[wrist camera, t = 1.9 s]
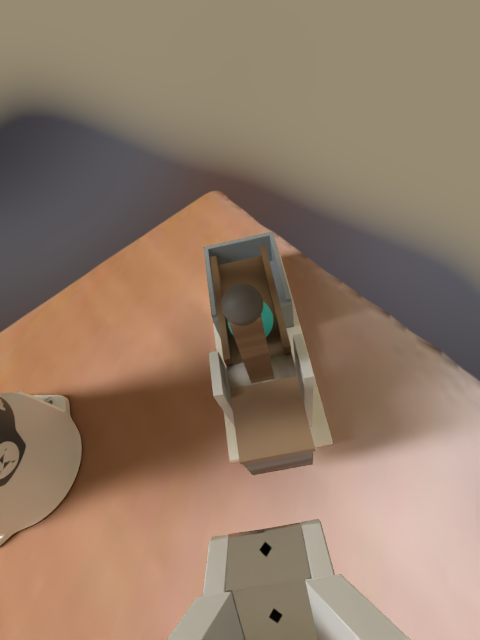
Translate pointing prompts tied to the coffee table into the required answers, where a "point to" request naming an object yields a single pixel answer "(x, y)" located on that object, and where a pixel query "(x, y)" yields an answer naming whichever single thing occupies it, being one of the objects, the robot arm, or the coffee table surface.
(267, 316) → the ball
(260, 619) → the robot arm
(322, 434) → the catapult stand
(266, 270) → the lever
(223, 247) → the cup
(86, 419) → the coffee table surface
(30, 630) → the coffee table surface
